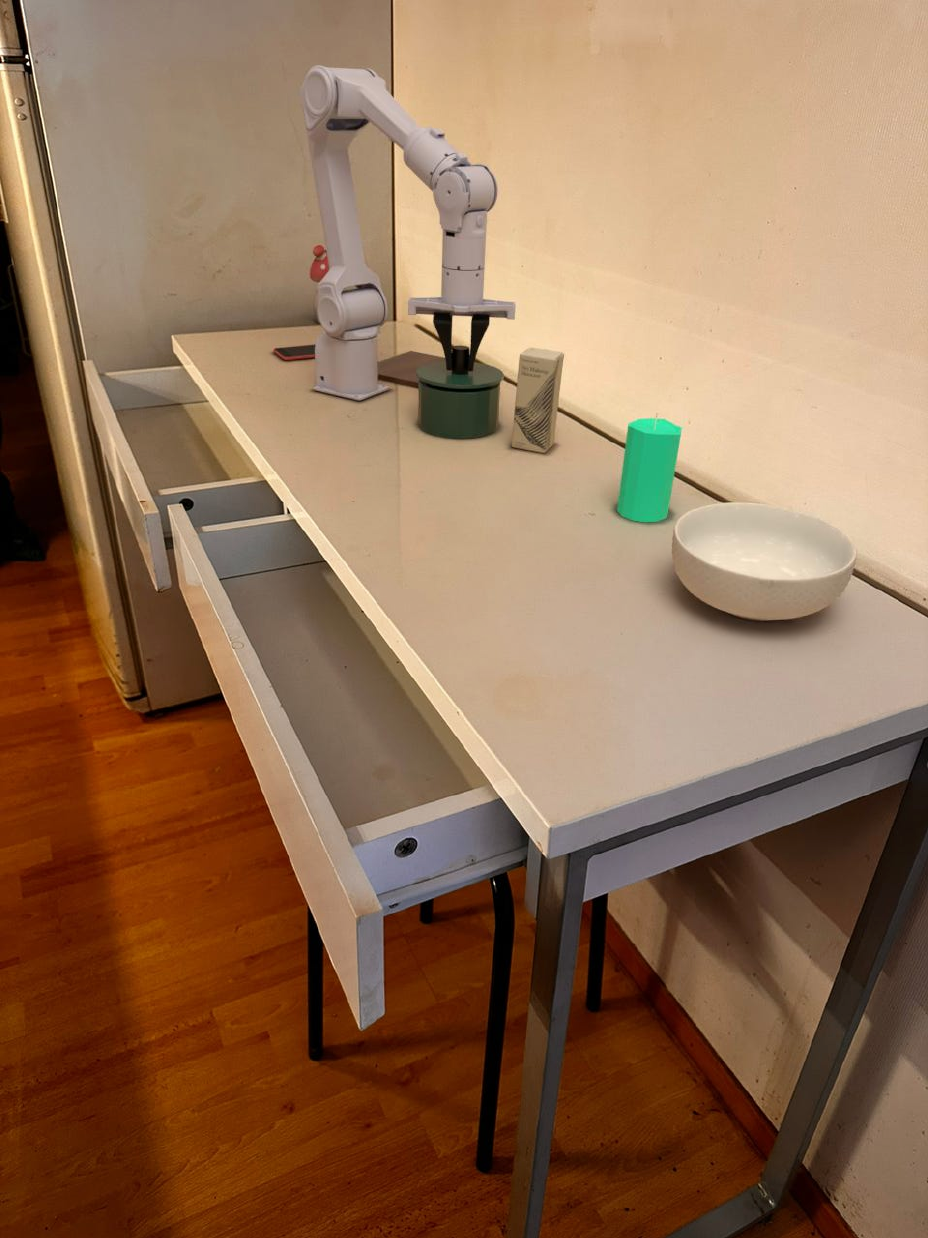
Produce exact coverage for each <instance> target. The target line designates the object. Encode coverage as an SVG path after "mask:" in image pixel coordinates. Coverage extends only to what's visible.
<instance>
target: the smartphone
mask: <svg viewBox="0 0 928 1238" xmlns="http://www.w3.org/2000/svg"><path fill="white" fill-rule="evenodd" d="M315 345H316V343H315V344H305V345H295V346H294V345H293V346H284V347H274V348H273V353H274V354H275V355H277V356H278V357H280V358H281V359H282V360H283V361H284V360H285V361H293V360H294V361H295V360H303V359H313V358H314V359H315Z"/></svg>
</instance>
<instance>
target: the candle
mask: <svg viewBox="0 0 928 1238" xmlns="http://www.w3.org/2000/svg"><path fill="white" fill-rule="evenodd" d="M658 414H659V412H656V415H655V417H654V418H652V417H651V418H650V417H649V418H638V419H635V420H633V421H631V422H629V424H628V425H627V432H626V440H625V446H624V453H623V454H624V455H623V461H622V462H623V463H622V468H621V475H620V477H621V478H620V483H619V484H620V485H619V492H618V498H617V499H618V500H617V505H616V512H618V514H619V515H620V516H621V517H623V518H625V519H628V520H630V521H634V522H640V523H659V522H662V521H663V520H665V519H667V517H668V514H669V509H670V502H671V496H672V491H673V485H674V484H673V483H674V478H675V473H676V467H677V460H678V455H679V447H680V441H681V436H682V429H683V427H681V426H679V425H676V424H675V423H672V422H671V421H669V420H668V419H666V418H658Z"/></svg>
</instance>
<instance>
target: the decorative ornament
mask: <svg viewBox="0 0 928 1238" xmlns="http://www.w3.org/2000/svg"><path fill="white" fill-rule="evenodd" d="M312 254H313V256H314V257H315V258H314V259H313V261H312V263H311V265H310V268H309V277H310V279H311V281H313V282H315V283H319V282H320V281H321V280H322V279H323V277H324V276H325V275H326V274H327V272H328V271H329V263H328V257H327V251H326V249H325V248H324V246H323V245H321V244H318V245H315V246H314V247H313V250H312ZM345 290H346V287H345V288H344V289H343V290H342V291H345ZM318 299H319V297H318V289H317V288H316V290H315V293H314V297H313V301H312V302H313V304H312V305H313V311H314V316H315V319H316V321H317V323H318V324H320V321H319V318H318V312H317V309H318Z"/></svg>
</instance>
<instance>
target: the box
mask: <svg viewBox="0 0 928 1238" xmlns="http://www.w3.org/2000/svg"><path fill="white" fill-rule="evenodd" d="M564 358H565V353H564V352H562V351H558V350H550V349H545V348H537V347H528V348H526V349H525V350H524V351H522V352H521V353H519V358H518V359H519V361H518V368H517V369H518V370H517V371H518V372H517V379H516V381H517V382H516V393H515V401H514V402H515V403H514V414H513V426H512V437H511V447H512V448H514V449H521V450H526V451H531V452H536V453H541V454H543V453H544V454H545V453H546V452H548V450H550V448H551V447H552V446H553V445H554V443H555V434H556V426H557V418H558V408H559V399H560V393H561V391H560V390H561V383H562V373H563V365H564V360H565V359H564Z"/></svg>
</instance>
